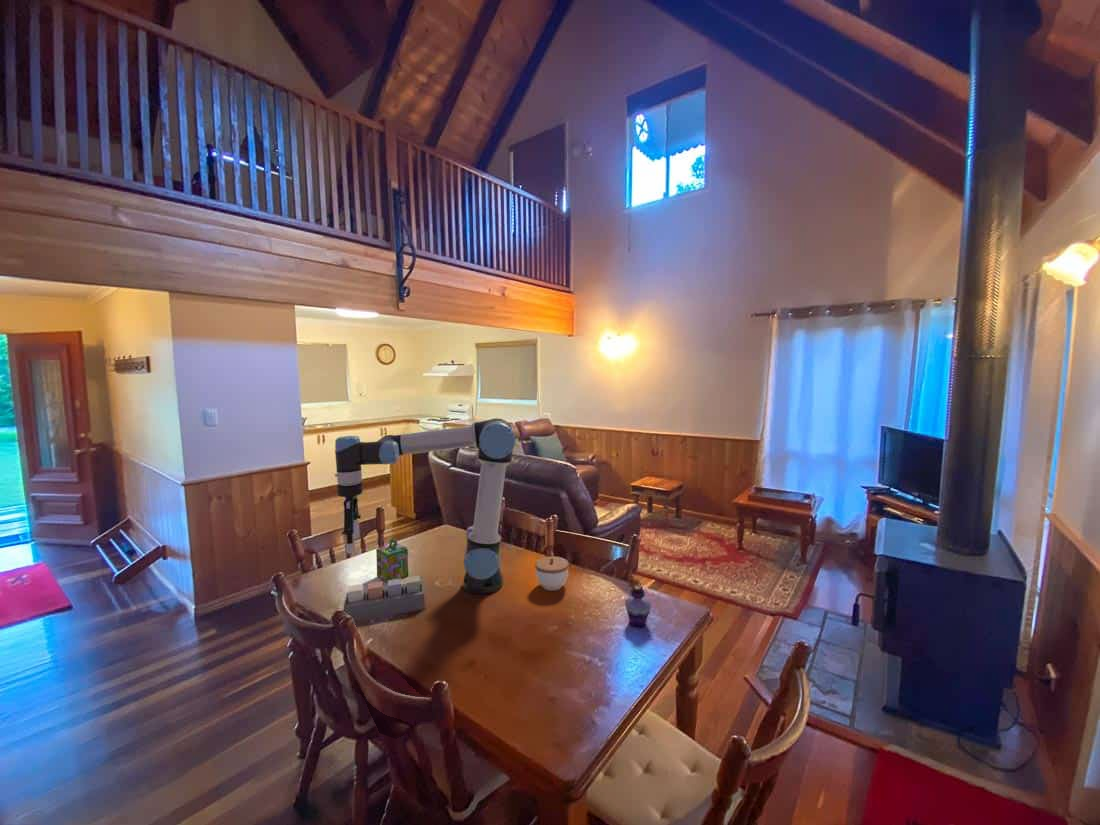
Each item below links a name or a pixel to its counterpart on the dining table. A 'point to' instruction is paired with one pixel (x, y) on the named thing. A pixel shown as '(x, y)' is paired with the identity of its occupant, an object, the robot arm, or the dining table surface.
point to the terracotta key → (375, 590)
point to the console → (385, 604)
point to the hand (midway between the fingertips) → (353, 545)
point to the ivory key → (355, 593)
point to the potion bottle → (637, 607)
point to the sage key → (413, 584)
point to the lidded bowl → (552, 572)
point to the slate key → (394, 587)
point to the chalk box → (392, 561)
